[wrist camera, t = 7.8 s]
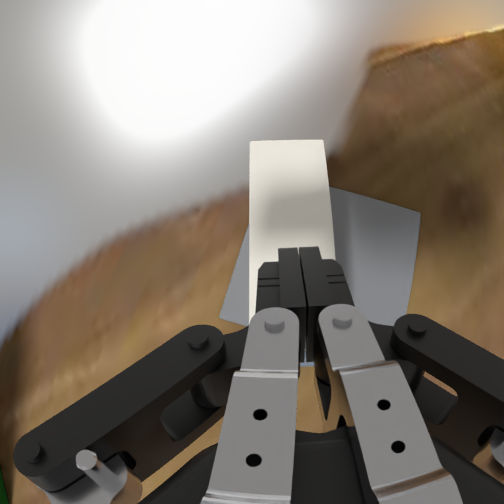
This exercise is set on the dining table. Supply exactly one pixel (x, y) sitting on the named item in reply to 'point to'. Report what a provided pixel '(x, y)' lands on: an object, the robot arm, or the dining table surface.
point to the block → (287, 204)
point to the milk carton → (2, 491)
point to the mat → (355, 258)
